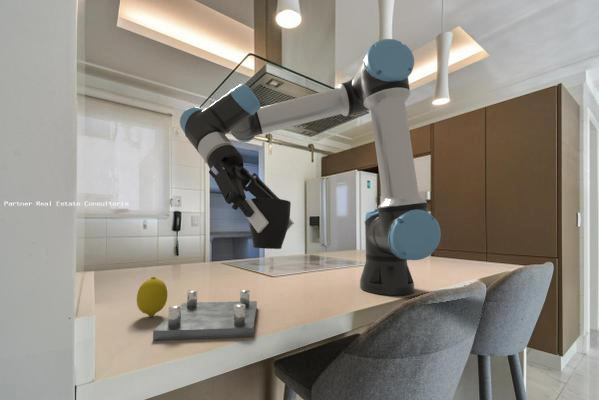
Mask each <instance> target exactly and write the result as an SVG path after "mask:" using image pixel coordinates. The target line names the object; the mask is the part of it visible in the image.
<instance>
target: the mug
mask: <svg viewBox="0 0 599 400" xmlns="http://www.w3.org/2000/svg"><path fill="white" fill-rule="evenodd" d="M250 199H251V200H252V201H253V203H254V204H255V205H256V207H257V208H258V210H259V211H260V212H261V213H262V214H263V216H264V217H265V218H266V220H267V221H268V222H269V223H268V224H267V225H266V227H265V228H264V229H263V230H262V231H261V232H260V233H258V232H257V231H256V230H255V228H254V227H253V226H252V224H251V223H250V222H249V221H248V222H249V230H250V236H251V241H252V246H253V248H256V249H269V250H281V249H282V247H283V244H284V241H285V238H286V234H287V232H288V230H289V229H288V225H289V219H291V207H292V206H291V204H292V203H291V201H290V200H287V199H281V198H279V199H274V198H256V197H255V198H250ZM287 229H288V230H287Z"/></svg>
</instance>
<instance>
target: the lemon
mask: <svg viewBox="0 0 599 400" xmlns="http://www.w3.org/2000/svg"><path fill="white" fill-rule="evenodd" d="M167 300H168V288H167V286H166V283H165V281H164V280H162V279H160V278H157V277H156V276H151V277H150V278H149V279H146V280H145V281H143V282H142V283H141V285H140V287H139V288H138V291H137V294H136V304H137V309H138V310H139V311H140V312H141V313H142V314H144V315H145V314H146V315H147V316H148V317H150V318H152V317H154V316H155V315H156V314H157V313H159V312H160V311H162V310H163V308H164V307H165V305H166V303H167Z"/></svg>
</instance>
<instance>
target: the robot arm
mask: <svg viewBox="0 0 599 400" xmlns="http://www.w3.org/2000/svg"><path fill="white" fill-rule="evenodd" d="M414 66H415V57H414V54H413V51H412V50H411V48H410V47H408V45H406V44H404V43H402V41H400V40H397V39H393V38H384V39H381V40H378V41H376V42H375V43H373V44H372V45H371V46H370V47H369V48H368V50H367V51H366V52H365V54H364V56H363V59H362V62H361V64H360V65H359V68H358V70H357V71H356V74H355V76H354V77H352V78H351V79H350V80H348V81H345V82H342V83H339V84H338V85H337V87H336V88H332V89H329V90H324V91H321V92H316V93H313V94H307V95H305V96H299V97H297V98H293V99H289V100H285V101H281V102H276V103H273V104H269V105H264V106H261V103H260V102H259V99H258V98H257V96H256V95H255V93H254V92H253V90H252V89H251V88H250V87H249V86H248V85H246V83H240V84H238V86H235V87H234V88H232V89H230V90H229V91H228V92H226V93H225V94H224V95H223V96H221V97H220V98H219V99H217V100H216V101H215V102H213V103H212V104H210V105H209V106H207V107H206V108H202V107H200V106H199V107H198V106H194V107H189V108H187V109H186V110H184V111H183V113H182V114H181V115H180V118H179V126H180V128H181V130H182V131H183V133H184V134H185V137H186V138H187V139H188V141H189V142H190V143H191V144H192V146H193V147H194V149H195V150H196V152H198V154H199V155H200V156H201V157H202V159H203V160H204V163H205V164H206V165H207V166H208V168H209V171H208V173H209V174H210V175H211V177H212V178H213V180H214V181H215V183H216V185H217V187H218V189H219V190H220V191H219V192H221V195H222V196H223V199H224V201H225V202H226V204H229V205H231V204H232V206H231V208H232V209H233V210H235V211H236V210H238V209H240V211H241V212H242V213H243V215H244V216H245V218H246V219H247V220H248V222H250V223H251V224H252V226H253V227H254V228H255V230H256V231H257V232H258V233H260V232H261V231H262V230H263V229H264V228H265V227H266V225H267V224H268V223H269V222H268V221H267V220H266V218H265V217H264V216H263V214H262V213H261V212H260V211H259V210H258V208H257V207H256V205H255V204H254V203H253V201H252V200H251V199H252V198H249V197H247V196H246V192H248V193H250V194H251V195H253V197H255V198H274V199H280V198H279V197H278V196H277V194H275V192H273V191H272V190H271V189H270V188H269V187H268V185H266V183H265V182H263V180H262V179H261V178H260V177H259V176H258V174H257V173H255V172H253V173H252V174H251V173H250V172H249V170H247V168H245V167H244V162H245V161H244V160H245V159H244V157H243V155H242V154H241V153H240V151H239V150H238V149H237V148H236V147H235V145H234V144H233V143H232V141H231V140H230V139H229V138H228V137H227V136H226V135H227V134H229V133H230V134H231V135H232V136H233V137H234V138H235V139H236V141H239V142H242V143H249V142H251V141H253V140H254V138H255V137H257V136H260V135H263V134H268V133H271V132H274V131H279V130H282V129H287V128H291V127H295V126H296V127H297V126H298V125H303V124H307V123H312V122H315V121H318V120H319V121H320V120H323V119H327V118H331V117H334V116H335V117H336V116H339V115H342V116H343V117H349V116H352V115H353V116H354V115H357V114H361V113H364V112H368V111H370V117H371V124H372V129H373V130H372V131H373V137H374V145H375V152H376V153H375V154H376V159H377V167H378V174H379V181H380V186H381V188H380V190H381V194H382V201H381V202H380V204H379V205H378V206H377V208H374V209H370V210H368V211H367V212H366V214H365V218H364V227H365V228H364V229H365V232H364V234H365V263H364V267H363V269H362V272H361V275H360V280H359V287H360V289H361V290H362V291H365V292H368V293H371V294H372V293H373V294H376V295H377V294H378V295H387V296H404V295H405V296H407V295H410V294H413V293H414V292H415V283H414V279H413V276H412V273H411V271H410V268H409V266H408V261H421V260H424V259H426V258H428V257H430V256H431V255H432V254H433V253H434V252H435V251H436V250H437V248H438V246H439V245H440V242H441V238H442V237H441V227H440V223H439V222H438V220H437V219H436V218H435V217H434V216H433V215H432V214H431V213H430V212H429V208H428V202H427V200H426V199H424V198H423V197H421V196H420V194H419V188H418V187H419V186H418V181H417V180H418V179H417V174H416V168H415V160H414V154H413V147H412V146H413V145H412V140H411V134H410V128H409V120H408V113H407V108H406V107H407V106H406V102H407V100H408V99H409V97H410V96H411V90H410V81H409V77H410V76H411V74H412V72H413V70H414ZM250 223H249V224H250ZM294 224H295V223H294V222H293V220H292V218H290V219H289V225H288V229H287V231H289V230H290V228H291V227H292V226H293V225H294Z"/></svg>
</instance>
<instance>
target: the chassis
mask: <svg viewBox="0 0 599 400" xmlns="http://www.w3.org/2000/svg"><path fill="white" fill-rule="evenodd" d="M239 292H240V293H239V301H213V302H211V301H208V302H207V301H205V302H204V301H203V302H198V290H196V289H195V290H188V291H187V294H186V295H187V296H186V302H182V303H181V304H180V305H179V304H178V305H176V304H175V305H171V306H168V316H167V317H166V319H164V320H163V321H162V322H161V323H160V324H159V325H158V326H157V327H156V328H155V329H154V330H153V332H152V341H171V340H172V341H173V340H175V341H176V340H199V339H200V340H201V339H202V340H203V339H225V338H226V339H227V338H229V339H230V338H253V336H254V329H255V322H256V315H257V308H258V301H257V300H254V301H253V300H250V292H251V291H250V289H248V288H247V289H245V288H244V289H240V291H239Z"/></svg>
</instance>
